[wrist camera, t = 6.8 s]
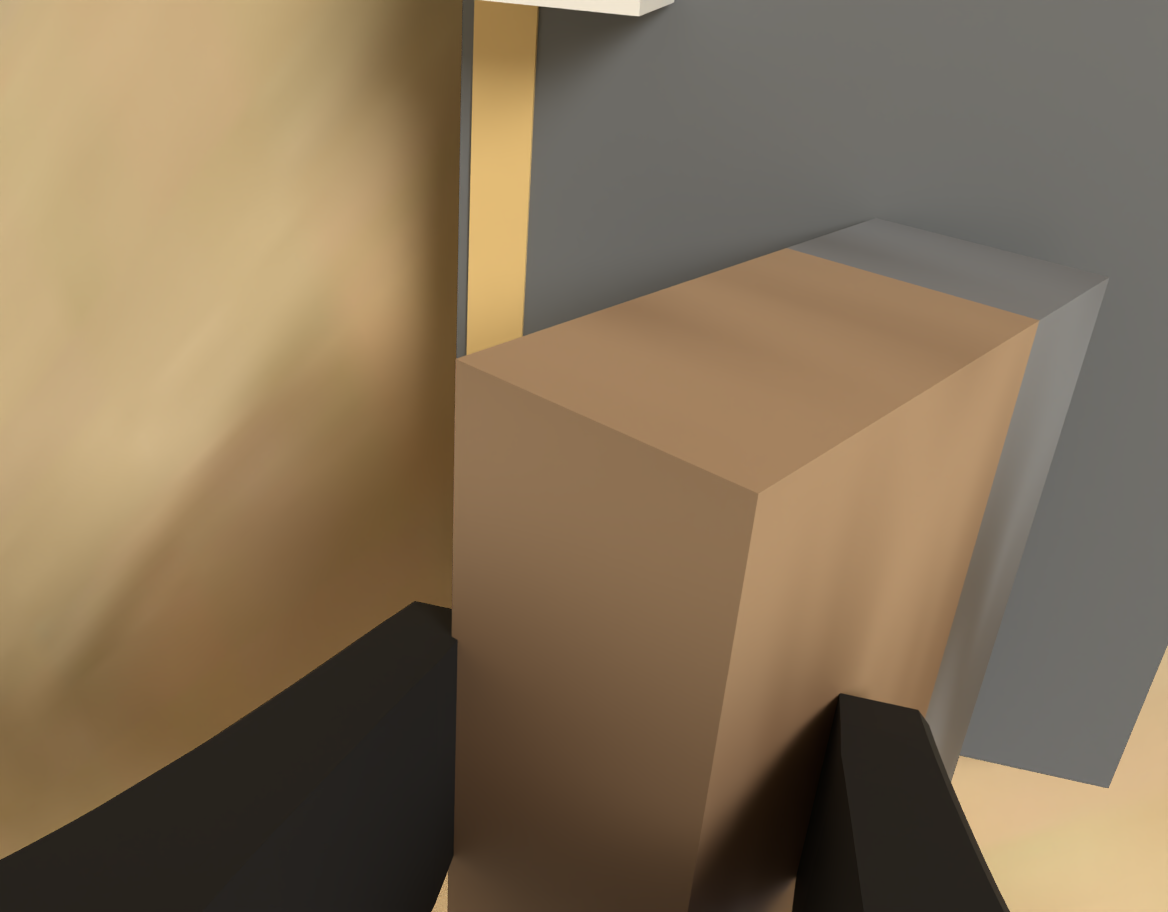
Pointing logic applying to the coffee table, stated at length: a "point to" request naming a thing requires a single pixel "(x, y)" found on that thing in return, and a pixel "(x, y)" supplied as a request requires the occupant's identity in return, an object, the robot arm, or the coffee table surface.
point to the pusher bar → (736, 554)
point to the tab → (599, 5)
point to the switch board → (852, 196)
